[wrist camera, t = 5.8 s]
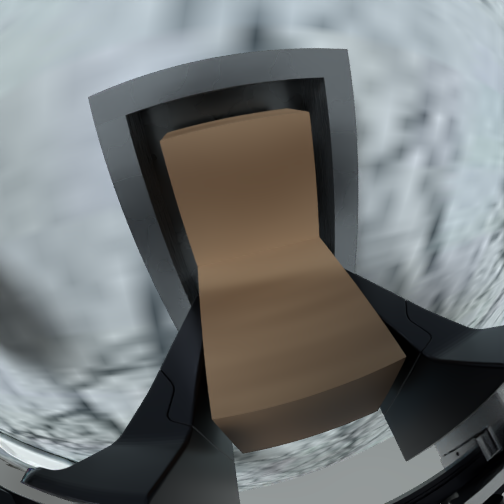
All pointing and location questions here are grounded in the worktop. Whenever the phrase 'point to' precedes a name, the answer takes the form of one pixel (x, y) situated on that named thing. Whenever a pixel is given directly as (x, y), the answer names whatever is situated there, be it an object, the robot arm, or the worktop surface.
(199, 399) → the robot arm
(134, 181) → the grey rectangular tray
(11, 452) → the plate
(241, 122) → the tan toy chair
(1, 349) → the worktop surface
